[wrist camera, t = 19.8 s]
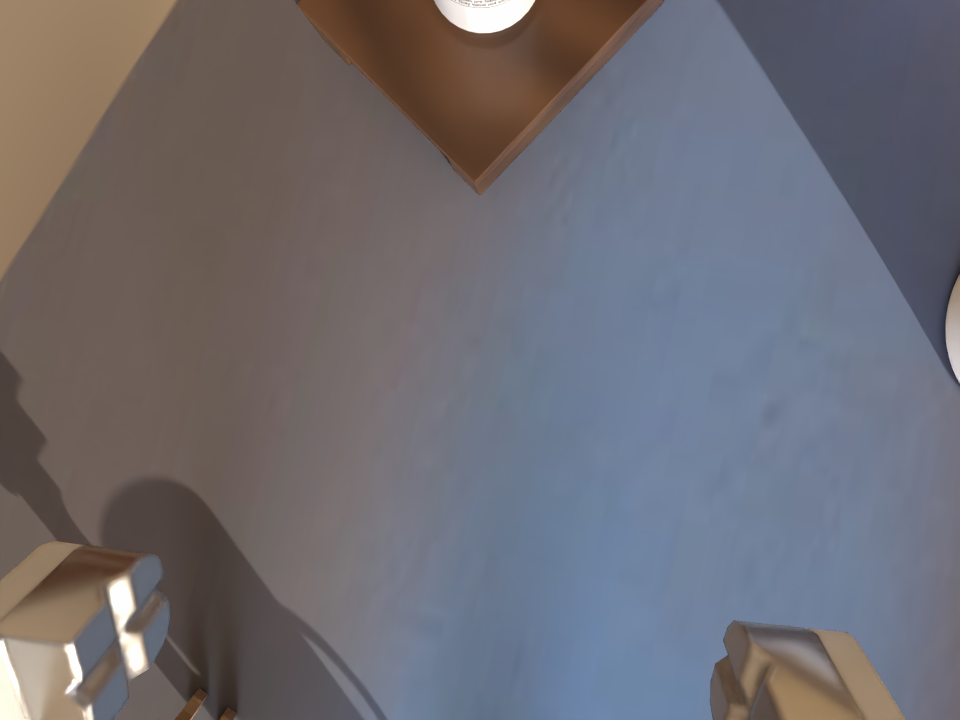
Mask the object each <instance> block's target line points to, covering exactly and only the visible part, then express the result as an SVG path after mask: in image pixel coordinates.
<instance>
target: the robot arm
mask: <svg viewBox="0 0 960 720" xmlns="http://www.w3.org/2000/svg"><path fill="white" fill-rule="evenodd" d="M945 332H946V344H947V351H948V355H949V359H950V363H951V366H952V368H953V371H954V373H955V375H956V377H957V379H958V381H959V383H960V274H959V276H958V278H957V280H956V283H955V285H954V288H953V290H952V293H951V296H950V300H949V304H948V309H947V315H946V329H945ZM163 576H164V572H163V568H162V564H161V560H160V557H158V556H155V555H153V554H148V553H141V552H134V551H127V550H120V549H113V548H106V547H99V546H92V545H79V544H72V543H66V542H59V541H51V542H49V543H46V544H43V545H40V546H39V547H38V548H37V549H35V550H34V551H33V552H32V553H31V554H30V555H29V556H28V557H26V558H25V559H24V560H23V561H22V562H21V563H20V564H19V565H17V566H16V567H15V568H14V569H13V570H12V571H11V572H10V573H8V574H7V575H6V576H5V577H4V578H3V579H2V580H1V581H0V720H114V719H115V718H116V716H117V715H118V713H119V712H120V710H121V709H122V707H123V706H124V704H125V703H126V701H127V700H128V698H129V686H128V681H130V680H131V679H133V678H134V677H136V676H138V675H139V674H141V673H142V672H144V671H145V670H147V669H149V667H150V666H151V664H152V663H153V661H154V660H155V658H156V657H157V655H158V654H159V652H160V650H161V648H162V646H163V643H164V640H165V637H166V635H167V632H168V629H169V622H170V606H169V600H168V598H167V597H166V596H165V595H164V594H163V593H162V592H161V591H160V590H159V589H158V587H157V586H156V585H157V584H158V583H159V581H160V580H161V579H162V577H163ZM723 642H724V645H725V648H726V650H727V653H728V655H727V656H726V657H724V658H723V659H721V660H720V661H719V662H717V663H716V664H715V667H714V671H713V674H712V678H711V683H710V705H711V711H712V718H713V720H906V719H905V717H904V716H903V714H902V713H901V711H900V709H899V708H898V706H897V705H896V703H895V701H894V700H893V698H892V697H891V695H890V693H889V692H888V690H887V688H886V687H885V685H884V684H883V682H882V680H881V679H880V677H879V676H878V674H877V672H876V671H875V669H874V668H873V666H872V664H871V663H870V661H869V660H868V658H867V656H866V655H865V653H864V652H863V650H862V648H861V647H860V645H859V644H858V642H857V641H856V639H855V638H854V637H852V636H851V635H850V634H849V633H847V632H840V631H830V630H820V629H811V628H809V629H805V628H801V627H791V626H781V625H772V624H762V623H753V622H743V621H733V622H732V623H731V624H730V625H729V626H728V628H727V630H726V633H725V636H724V639H723Z"/></svg>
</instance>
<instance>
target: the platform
mask: <svg viewBox="0 0 960 720" xmlns="http://www.w3.org/2000/svg"><path fill="white" fill-rule="evenodd" d="M663 2H664V0H535V2H534V3H533V5H532V6H531V8H530V9H529V11H528V12H527V13H526V14H525V15H524V16H523V17H522V18H521V19H520V20H519V21H517V22H516V23H515V24H513V25H512V26H510V27H508V28H505V29H503V30H501V31H497V32H492V33H476V32H470V31H467V30H464V29H462V28H459V27H458V26H456V25H455V24H453V23H452V22H450V21H449V20H448V19H447V18H446V17H445V16H444V15H443V14H442V13H441V11H440V10H439V8H438V7H437V5H436V4H435V1H434V0H300V1H299V2H298V3H297V5H298V6H299V8H300V9H301V10H302V12H303V13H304V14H305V16H306V17H307V18H308V20H309V21H310V22H311V24H312V25H313V27H314V28H315V29H316V31H317V32H318V33H319V35H320V36H321V37H322V39H323V40H324V41H325V42H326V43H327V44H328V45H329V46H330V47H331V48H332V49H333V50H334V51H335V52H336V53H337V54H338V55H339V56H340V57H341V58H342V59H343V60H344V61H345V62H346V63H347V64H348V65H351V63H353V64H354V65H355V66H356V67H357V68H358V69H359V70H360V71H361V72H362V73H363V74H364V75H365V76H366V77H367V78H368V79H369V80H370V81H371V82H372V83H373V84H374V85H375V86H376V87H377V88H378V89H379V90H380V91H381V92H382V93H383V94H384V95H385V96H386V97H387V98H388V99H389V100H390V101H391V102H392V103H393V104H394V105H395V106H396V107H397V108H398V109H399V110H400V111H401V112H402V113H403V114H404V115H405V116H406V117H407V118H408V119H409V120H410V121H411V122H412V123H413V124H414V125H415V126H416V127H417V128H418V129H419V130H420V131H421V132H422V133H423V134H424V135H425V136H426V137H427V138H428V139H429V140H430V141H431V142H432V143H433V144H434V145H435V146H436V147H437V148H438V149H439V150H440V151H441V152H442V153H443V154H444V155H445V156H446V157H447V158H448V159H449V161H450V163H451V165H452V167H453V169H454V171H455V172H456V173H457V174H458V175H459V176H460V177H461V178H462V179H463V180H464V181H465V182H466V183H467V184H468V185H469V186H470V187H471V188H472V189H473V190H474V191H475V192H476V193H477V194H478V195H481V194H482V193H483V192H484V191H485V190H486V189H487V188H488V187H489V186H490V185H491V184H492V183H493V181H494V180H495V179H496V178H497V177H498V176H499V175H500V174H501V173H502V172H503V171H504V170H505V169H506V168H507V167H508V166H509V165H510V164H511V163H512V161H513V160H514V159H515V158H516V157H517V156H518V155H519V154H520V153H521V152H522V151H523V150H524V149H525V148H526V147H527V146H528V145H529V144H530V143H531V141H532V140H533V139H534V138H535V137H536V136H537V135H538V134H539V133H540V132H541V131H542V130H543V129H544V128H545V127H546V126H547V125H548V124H549V123H550V122H551V120H552V119H553V118H554V117H555V116H556V115H557V114H558V113H559V112H560V111H561V110H562V109H563V108H564V107H565V106H566V105H567V104H568V103H569V102H570V100H571V99H572V98H573V97H574V96H575V95H576V94H577V93H578V92H579V91H580V90H581V89H582V88H583V87H584V86H585V85H586V84H587V83H588V82H589V81H590V79H591V78H592V77H593V76H594V75H595V74H596V73H597V72H598V71H599V70H600V69H601V68H602V67H603V66H604V65H605V64H606V63H607V62H608V61H609V59H610V58H611V57H612V56H613V55H614V54H615V53H616V52H617V51H618V50H619V49H620V48H621V47H622V46H623V45H624V44H625V43H626V42H627V41H628V40H629V38H630V37H631V36H632V35H633V34H634V33H635V32H636V31H637V30H638V29H639V28H640V27H641V26H642V25H643V24H644V23H645V22H646V21H647V20H648V18H649V17H650V16H651V15H652V14H653V13H654V12H655V11H656V10H657V9H658V8H659V7H660V6H661V5H662V4H663Z"/></svg>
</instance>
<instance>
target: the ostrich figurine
mask: <svg viewBox="0 0 960 720" xmlns="http://www.w3.org/2000/svg"><path fill="white" fill-rule="evenodd" d="M207 696H208V694H207V693H205V692H204V691H202V690H201V689H198V690H197V691H196V692H195V694H194V695H193V696H192V698H191V699H190V701H189V702H188V703H187V705H186V706H185V708H184V709H183V710H182V711H181V713H180V714H179V715H178V716H177V718H176V719H175V720H191V719H192V718H193V717H194V715H195V714H196V713H197V711H198V710H199V708H200V707H201V705H202V704H203V702H204V701H205V699H206V697H207ZM236 715H237V713H236V712H234V711H233V710H231V709H230V708H227V709H226V711H225V712H224V713H223V715H222V716H221V718H220V719H219V720H233V719H234V718H235V716H236Z"/></svg>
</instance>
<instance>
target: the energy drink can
mask: <svg viewBox="0 0 960 720" xmlns="http://www.w3.org/2000/svg"><path fill="white" fill-rule="evenodd" d="M434 1H435V4H436V5H437V7H438V8H439V10H440V11H441V13H442V14H443V15H444V16H445V17H446V18H447V19H448V20H449V21H450V22H452V23H453V24H455V25H456V26H458V27H459V28H462V29H464V30H467V31H470V32H476V33H492V32H497V31H501V30H503V29H505V28H508V27H510V26H512V25H513V24H515V23H516V22H517V21H519V20H520V19H521V18H522V17H523V16H524V15H525V14H526V13H527V12H528V11H529V9H530V8H531V6H532V5H533V3H534V2H535V0H434Z"/></svg>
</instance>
